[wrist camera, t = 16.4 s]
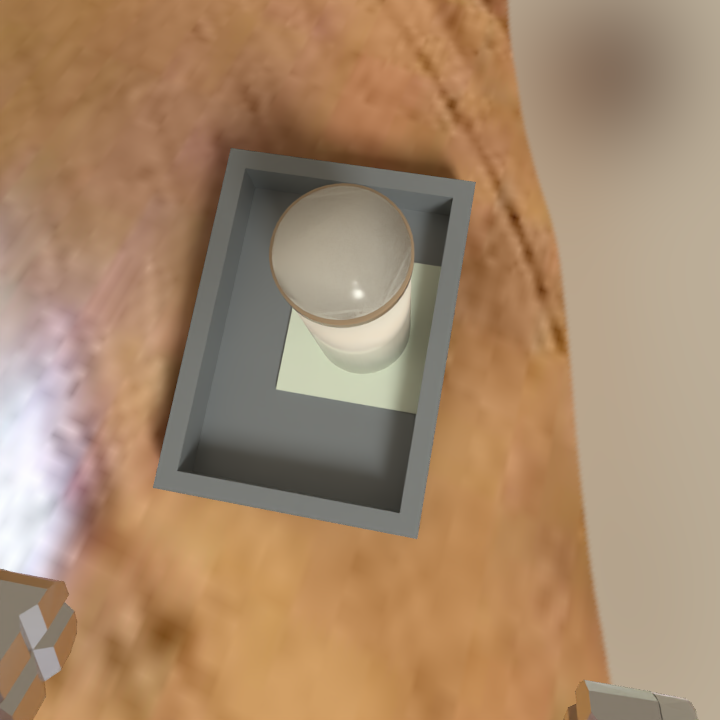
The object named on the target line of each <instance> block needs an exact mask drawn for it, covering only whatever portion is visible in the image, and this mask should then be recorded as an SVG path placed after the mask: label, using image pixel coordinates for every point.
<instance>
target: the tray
mask: <svg viewBox="0 0 720 720" xmlns="http://www.w3.org/2000/svg"><path fill="white" fill-rule="evenodd" d="M339 183H349V184H357V185H362V186H365V187H368V188H371V189H374V190H376V191H378V192H380V193H381V194H383V195H384V196H386V197H387V198H389V199H390V200H391V201H392V202H393V203H394V204H395V205H396V206H397V207H398V208H399V209H400V210H401V212H402V213H403V215H404V216H405V218H406V220H407V222H408V224H409V226H410V229H411V232H412V235H413V241H414V267H413V272H412V277H411V323H410V336H409V340H408V343H407V346H406V348H405V350H404V351H403V353H402V354H401V356H400V357H399V358H398V359H397V360H396V361H395V362H394V363H393V364H391V365H390V366H388V367H387V368H385V369H383V370H381V371H378V372H374V373H369V374H357V373H351V372H348V371H345V370H343V369H341V368H339V367H337V366H336V365H334V364H333V363H332V362H331V361H330V360H329V359H328V358H327V357H326V356H325V354H324V353H323V351H322V350H321V348H320V347H319V345H318V344H317V342H316V341H315V339H314V338H313V336H312V335H311V333H310V331H309V330H308V328H307V327H306V325H305V324H304V322H303V321H302V319H301V318H300V316H299V315H298V313H297V312H296V311H295V310H294V309H293V308H292V307H291V306H290V305H289V303H288V302H287V301H286V300H285V298H284V297H283V295H282V294H281V292H280V291H279V289H278V287H277V286H276V283H275V281H274V279H273V276H272V272H271V269H270V262H269V248H270V241H271V237H272V234H273V231H274V229H275V226H276V224H277V222H278V221H279V219H280V217H281V216H282V214H283V213H284V212H285V211H286V209H287V208H288V207H289V206H290V205H291V204H292V203H293V202H294V201H296V200H297V199H298V198H300V197H301V196H302V195H304V194H306V193H308V192H309V191H312V190H314V189H316V188H319V187H322V186H326V185H331V184H339ZM475 183H476V182H471V181H464V180H457V179H450V178H443V177H435V176H428V175H421V174H414V173H407V172H399V171H392V170H385V169H378V168H371V167H364V166H356V165H349V164H342V163H335V162H328V161H320V160H313V159H306V158H299V157H292V156H284V155H277V154H270V153H263V152H256V151H248V150H241V149H234V148H231V150H230V155H229V159H228V163H227V168H226V172H225V176H224V181H223V185H222V189H221V194H220V198H219V202H218V207H217V211H216V215H215V220H214V224H213V229H212V233H211V237H210V242H209V246H208V250H207V255H206V259H205V263H204V268H203V272H202V276H201V281H200V285H199V290H198V294H197V298H196V303H195V307H194V311H193V316H192V320H191V324H190V329H189V333H188V337H187V342H186V346H185V350H184V355H183V359H182V364H181V368H180V372H179V377H178V381H177V385H176V390H175V394H174V398H173V403H172V407H171V411H170V416H169V420H168V425H167V429H166V433H165V438H164V442H163V446H162V451H161V455H160V459H159V464H158V468H157V472H156V477H155V481H154V485H153V488H157V489H162V490H167V491H172V492H178V493H183V494H188V495H193V496H198V497H203V498H209V499H214V500H219V501H224V502H229V503H234V504H240V505H245V506H250V507H255V508H260V509H265V510H271V511H276V512H281V513H286V514H291V515H296V516H302V517H307V518H312V519H317V520H322V521H327V522H333V523H338V524H343V525H348V526H353V527H358V528H364V529H369V530H374V531H379V532H384V533H389V534H395V535H400V536H405V537H410V538H415V539H417V537H418V531H419V525H420V519H421V512H422V506H423V500H424V494H425V488H426V482H427V476H428V470H429V464H430V458H431V451H432V445H433V439H434V433H435V427H436V421H437V415H438V409H439V403H440V397H441V390H442V384H443V378H444V372H445V366H446V360H447V354H448V348H449V342H450V336H451V329H452V323H453V317H454V311H455V305H456V299H457V293H458V287H459V281H460V275H461V268H462V262H463V256H464V250H465V244H466V238H467V232H468V226H469V220H470V214H471V207H472V201H473V195H474V189H475Z"/></svg>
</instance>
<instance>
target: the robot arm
mask: <svg viewBox="0 0 720 720" xmlns="http://www.w3.org/2000/svg"><path fill="white" fill-rule="evenodd" d="M68 595H69V593H68V590H67V588H66V585H65V582H64V581H58V580H53V579H48V578H43V577H37V576H32V575H27V574H21V573H16V572H11V571H7V570H4V569H0V720H33V719H34V717H35V715H36V713H37V712H38V710H39V708H40V706H41V705H42V703H43V701H44V699H45V698H46V691H45V681H46V680H47V679H48V678H50V677H51V676H53V675H54V674H56V673H57V672H59V671H60V670H61V669H62V668H63V666H64V664H65V662H66V660H67V658H68V657H69V655H70V653H71V650H72V647H73V644H74V640H75V637H76V634H77V619H76V615H75V612H74V610H72V609H71V608H70V607H69V606H68V605H67V604H66V603H65V600H66V599H67V597H68ZM575 695H576V704H574V705H572V706H570V707H568V709H567V711H566V714H565V716H564V719H563V720H698V717H697V713H696V709H695V708H694V706H693V705H692V703H691V702H690V701H689V700H687V699H685V698H681V697H675V696H670V695H664V694H659V693H654V692H651V691H645V690H640V689H634V688H628V687H622V686H616V685H611V684H605V683H599V682H593V681H587V680H583V681H581V682H579V684H578V687H577V689H576V691H575Z"/></svg>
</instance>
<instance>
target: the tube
mask: <svg viewBox="0 0 720 720" xmlns="http://www.w3.org/2000/svg"><path fill="white" fill-rule="evenodd" d="M269 262H270V269H271V272H272V276H273V279H274V281H275V283H276V286H277V287H278V289H279V291H280V292H281V294H282V295H283V297H284V298H285V300H286V301H287V302H288V303H289V305H290V306H291V307H292V308H293V309H294V310H295V311H296V312H297V313H298V315H299V316H300V318H301V319H302V321H303V322H304V324H305V325H306V327H307V328H308V330H309V331H310V333H311V335H312V336H313V338H314V339H315V341H316V342H317V344H318V345H319V347H320V348H321V350H322V351H323V353H324V354H325V356H326V357H327V358H328V359H329V360H330V361H331V362H332V363H333V364H334V365H336V366H337V367H339V368H341V369H343V370H345V371H348V372H351V373H357V374H369V373H374V372H378V371H381V370H383V369H385V368H387V367H388V366H390V365H391V364H393V363H394V362H395V361H396V360H397V359H398V358H399V357H400V356H401V354H402V353H403V351H404V350H405V348H406V346H407V343H408V340H409V336H410V323H411V277H412V272H413V267H414V241H413V235H412V232H411V229H410V226H409V224H408V222H407V220H406V218H405V216H404V215H403V213H402V212H401V210H400V209H399V208H398V207H397V206H396V205H395V204H394V203H393V202H392V201H391V200H390V199H389V198H387V197H386V196H384V195H383V194H381V193H380V192H378V191H376V190H374V189H371V188H368V187H365V186H362V185H357V184H349V183H339V184H331V185H326V186H322V187H319V188H316V189H314V190H312V191H309V192H308V193H306V194H304V195H302V196H301V197H300V198H298V199H297V200H296V201H294V202H293V203H292V204H291V205H290V206H289V207H288V208H287V209H286V211H285V212H284V213H283V214H282V216H281V217H280V219H279V221H278V222H277V224H276V226H275V229H274V231H273V234H272V237H271V241H270V248H269Z"/></svg>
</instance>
